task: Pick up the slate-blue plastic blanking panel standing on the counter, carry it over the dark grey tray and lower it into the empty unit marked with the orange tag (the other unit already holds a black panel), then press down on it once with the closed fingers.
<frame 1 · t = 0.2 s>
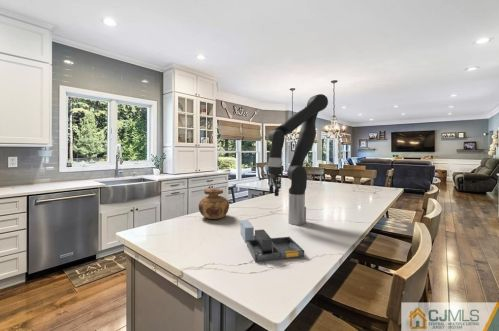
hand: (273, 194, 137), 17 cm above the kitchen island, tool pointing down, fingers open, 8 cm apart
dark grey tray: (273, 251, 103), on the kitchen island
panel: (246, 237, 119), on the kitchen island
clay pot: (214, 217, 154), on the kitchen island
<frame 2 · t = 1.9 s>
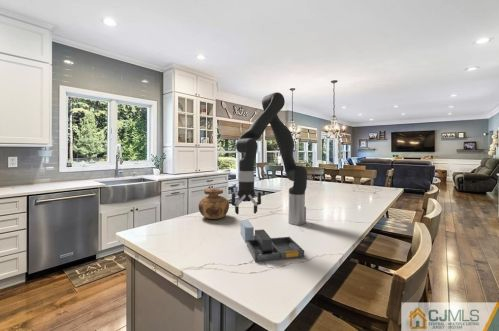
hand: (246, 213, 118), 12 cm above the kitchen island, tool pointing down, fingers open, 8 cm apart
nothing on the kitchen island moved.
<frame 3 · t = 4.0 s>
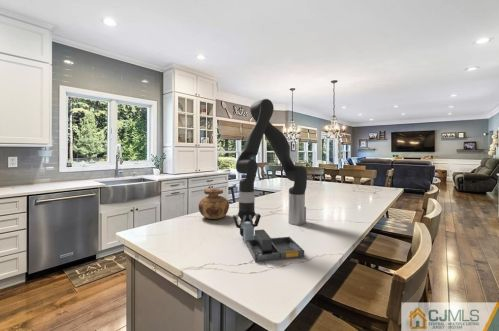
hand: (246, 235, 119), 1 cm above the kitchen island, tool pointing down, fingers closed on panel, 4 cm apart
panel: (246, 237, 119), on the kitchen island, touching gripper
everything else where it was.
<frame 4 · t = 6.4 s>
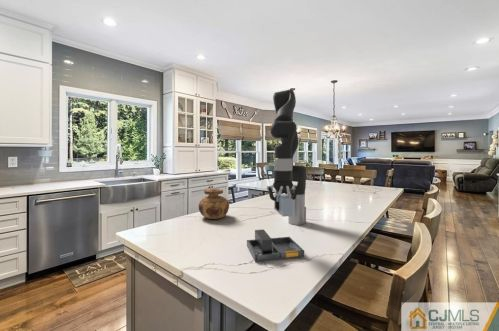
hand: (282, 209, 103), 17 cm above the kitchen island, tool pointing down, fingers closed on panel, 4 cm apart
panel: (282, 212, 103), point 16 cm above the kitchen island, touching gripper
everything else where it was.
when the fingers open (3 cm above the kitchen island, at t = 8.9 s): panel stays where it is, resting on dark grey tray.
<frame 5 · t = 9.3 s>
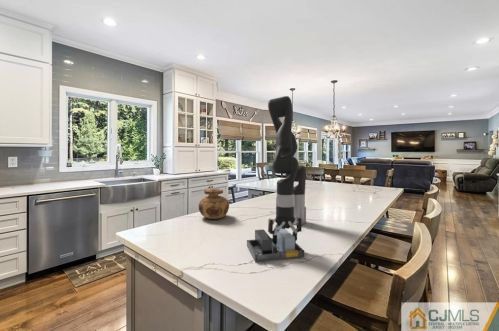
hand: (284, 242, 104), 3 cm above the kitchen island, tool pointing down, fingers open, 8 cm apart
panel: (284, 248, 104), point 1 cm above the kitchen island, touching dark grey tray
everything else where it was.
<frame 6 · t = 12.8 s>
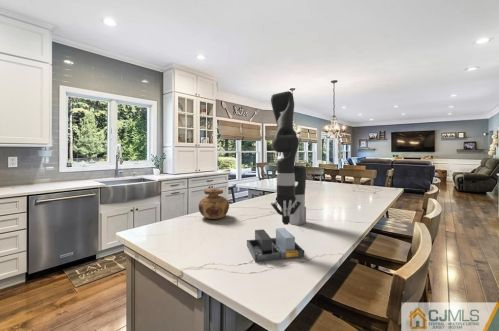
hand: (285, 224, 103), 11 cm above the kitchen island, tool pointing down, fingers closed
nothing on the kitchen island moved.
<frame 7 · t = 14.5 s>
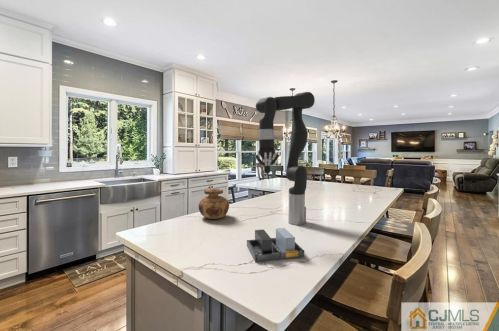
hand: (267, 173, 123), 31 cm above the kitchen island, tool pointing down, fingers closed
nothing on the kitchen island moved.
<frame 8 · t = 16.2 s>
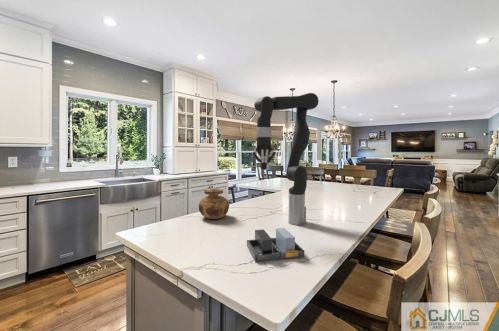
hand: (263, 169, 128), 32 cm above the kitchen island, tool pointing down, fingers closed
nothing on the kitchen island moved.
at the end: panel inside the target area on the dark grey tray (0.0 cm from its centre), point 0.6 cm above the dark grey tray's base; panel tilted 0°; the gripper is holding nothing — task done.
